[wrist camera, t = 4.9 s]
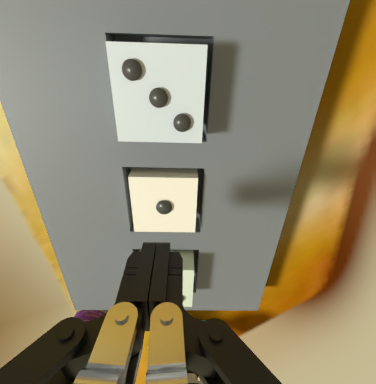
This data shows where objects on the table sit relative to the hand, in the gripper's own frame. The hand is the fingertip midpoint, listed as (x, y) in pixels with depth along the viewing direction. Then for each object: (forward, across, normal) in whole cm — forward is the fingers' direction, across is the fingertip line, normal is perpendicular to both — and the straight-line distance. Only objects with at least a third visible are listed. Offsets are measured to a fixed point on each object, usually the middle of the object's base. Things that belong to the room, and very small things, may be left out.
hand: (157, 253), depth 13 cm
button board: (+9, 0, 0) cm, 9 cm away
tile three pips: (+6, 0, -8) cm, 10 cm away
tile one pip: (+8, 0, 0) cm, 8 cm away
